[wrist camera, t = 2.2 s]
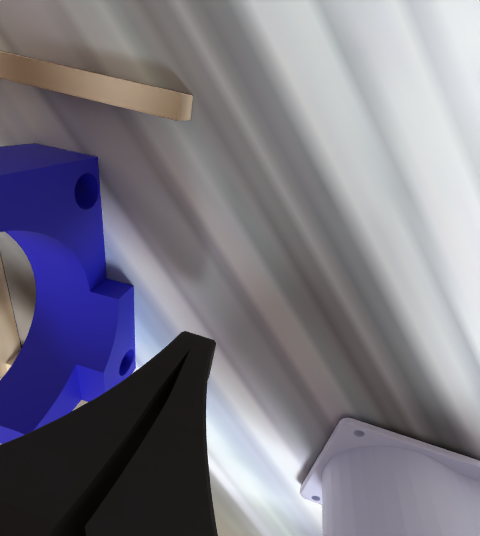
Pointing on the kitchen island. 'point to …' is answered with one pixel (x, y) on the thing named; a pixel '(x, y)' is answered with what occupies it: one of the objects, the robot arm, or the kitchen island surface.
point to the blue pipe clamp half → (62, 289)
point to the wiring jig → (93, 88)
